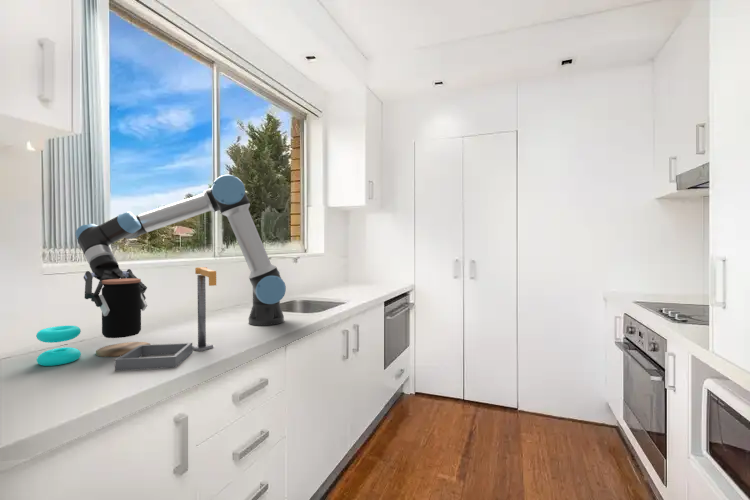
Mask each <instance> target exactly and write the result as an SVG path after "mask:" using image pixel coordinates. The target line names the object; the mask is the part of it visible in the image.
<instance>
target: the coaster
mask: <svg viewBox="0 0 750 500" xmlns="http://www.w3.org/2000/svg"><path fill="white" fill-rule="evenodd" d="M139 345H152V344H151V343H150V342H146V341H129V342H120V343H114V344H110V345H105V346H103V347H99V348H98V349H97V350H96V351H95V355H96V356H97V357H102V358H116V357H117V358H119V357H121V356H122V355H124V354H126V353H127V352H129V351H131V350H132V349H134V348H136V347H138V346H139Z"/></svg>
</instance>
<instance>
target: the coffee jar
mask: <svg viewBox="0 0 750 500" xmlns="http://www.w3.org/2000/svg"><path fill="white" fill-rule="evenodd" d="M137 278H138V277H137ZM137 278H124V279H121V278H120V279H108V280H102V284H103V286H102V289H101V295H103V297H104V299H105V301H106V303H107V305H108V307H109V309H110V311H109V313H108V315H107V316H104V315H103V313H102V312H101V335H102V336H104V338H106V339H120V338H121V339H122V338H128V337H133V336H137V335H138V334H140V332H141V331H142V310H141V286H140V285H139V283H140V282H142V280H141V278H138V279H137Z"/></svg>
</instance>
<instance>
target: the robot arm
mask: <svg viewBox="0 0 750 500" xmlns="http://www.w3.org/2000/svg"><path fill="white" fill-rule="evenodd" d="M250 206H251V203H250V200H249V198H248V195H247V193H246V188H245V185H244V182H243V181H242V180H241V178H239V177H237V176H236V175H232V174H223V175H220V176H218V177H217V178H216V179H215V180H213V183H212V185H211V188H208V189H205V190H204V191H203V192H202V193H200V194H197V195H195V196H192V197H189V198H186V199H182V200H180V201H177V202H173V203H170V204H167V205H165V206H161V207H158V208H155V209H153V210H149V211H146V212H143V213H140V214H138V215H134V213H133V212H131V211H126V212H123V213H120V214H118V215H117V216H116V217H113V218H111V219H109V220H107V221H106V222H104V223H102V224H99V225H97V224H95V223H88V224H82V225H80V226H79V227H78V228H77V229H76V230H75V237H76V240H77V244H78V246H79V247H80V250H82V252H83V255H84V257H85V259H86V261H87V263H88V265H89V267H90V270H91V271H90V270H89V271H88V270H87V271H85V273H84V275H83V280H84V282H85V283H84V286H85V287H84V299H85V300H89V299H90V302H92V303H93V302H94V304H95V306H96V307H97V308H100V310H101V314H102V313H103V315H104V316H107V315H108V313H109V311H110V309H109V307H108V305H107V303H106V301H105V299H104V297H103V295H102V294H100V293H101V292H102V288H103V287H104V285H103V284H102V280H108V279H124V278H137V279H139V278H138V277H137V276H136V275H135V274H134V273H133V271H132V270H131V269H130V268H128V269H127V270H122V269H121V268H120V266H119V263H118V261H117V259H116V257H115V255H114V253H113V251H112V250H111V247H110V245H112V244H115V243H116V242H118V241H120V240H123V239H124V238H125V239H131V240H132V239H135V238H138V237H139V236H141V235H144V234H147V233H149V232H153V231H155V230H159V229H162V228H165V227H167V226H170V225H173V224H175V223H179V222H182V221H184V220H187V219H190V218H193V217H196V216H200V215H202V214H205V213H208V212H212V213H215V212H218V211H219V212H220V214H221V215H222V216H224V217H227V220H228V222H229V224H230V227H231V229H232V232H233V233H234V236H235V239H236V241H237V243H238V245H239V248H240V250H241V252H242V255H243V257H244V260H245V262H246V264H247V267H248V269H249V272H250V273H249V276H248V279H249V281H250V283H251V286H252V307H251V310H250V314H249V316H248V325H250V326H251V325H253V326H273V325H274V326H275V325H278V324H282V323H284V322H285V317H284V316H285V315H284V313H283V310H282V307H281V304H280V303H281V300H282V299H283V298H284V297H285V294H286V288H287V287H286V283H285V282H284V280H283V279H282V277H281V274H280V271H279V270H278V268H277V266H276V265H274V264H272V263H271V261H270V260H271V259H270V258H269V256H268V253H267V251H266V249H265V246H264V244H263V242H262V239H261V237H260V234H259V232H258V229H257V227H256V225H255V222H254V220H253V217H252V215H251V212H250V210H249V208H250ZM93 278H95V279H97V280H98V284H97V285H96V288H95V290H94V292H93ZM139 285H140V286H141V312H144V311H145V310H146V309H147V307H148V303H147V302H146V299H147V297H146V296H145V293H146V291H147V289H148V287H147V286H146V285H145V284H144V283H143V281H141V282H140V283H139Z"/></svg>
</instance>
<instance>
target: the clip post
mask: <svg viewBox="0 0 750 500" xmlns="http://www.w3.org/2000/svg"><path fill="white" fill-rule="evenodd" d="M196 275H197V276H196V277H197V278H196V279H197V280H196V281H197V344H194V345H192V351H196V352H202V351H208V350H211V349H214V344H210V343H207V330H206V329H207V327H206V326H207V324H206V323H207V322H206V321H207V319H206V318H207V317H206V316H207V315H206V310H207V309H206V303H207V302H206V276H204V275H201V274H196Z"/></svg>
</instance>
